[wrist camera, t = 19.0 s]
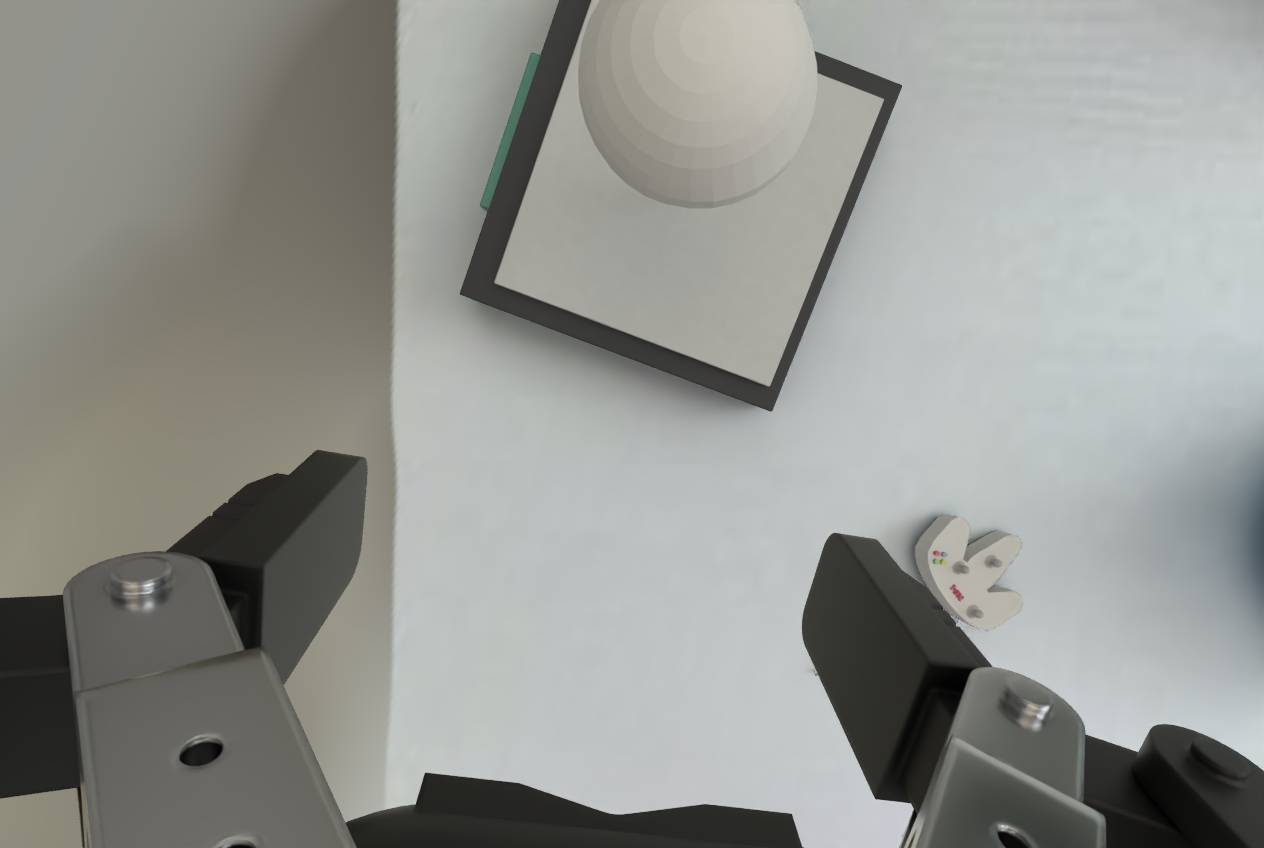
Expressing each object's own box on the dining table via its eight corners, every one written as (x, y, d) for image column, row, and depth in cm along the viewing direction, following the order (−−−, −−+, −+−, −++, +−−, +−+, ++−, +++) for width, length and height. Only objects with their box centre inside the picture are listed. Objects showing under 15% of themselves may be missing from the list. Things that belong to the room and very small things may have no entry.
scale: (464, 294, 34) (443, 288, 30) (568, -12, 32) (558, -56, 28) (760, 406, 34) (774, 412, 30) (879, 109, 32) (907, 80, 29)
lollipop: (773, 202, 29) (907, 53, 14) (669, 293, 30) (694, 240, 15) (679, 88, 29) (719, -187, 14) (576, 183, 29) (506, 15, 15)
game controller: (1038, 554, 34) (1070, 571, 32) (899, 729, 36) (919, 760, 33) (948, 490, 34) (973, 503, 32) (811, 670, 35) (824, 696, 33)
